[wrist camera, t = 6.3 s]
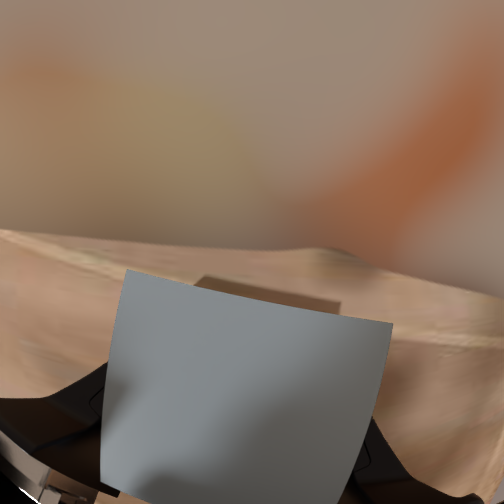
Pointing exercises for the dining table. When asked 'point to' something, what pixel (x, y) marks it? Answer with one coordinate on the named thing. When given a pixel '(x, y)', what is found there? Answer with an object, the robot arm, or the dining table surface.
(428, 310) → the dining table surface
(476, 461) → the dining table surface
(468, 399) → the dining table surface
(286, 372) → the slate-blue block
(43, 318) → the dining table surface
